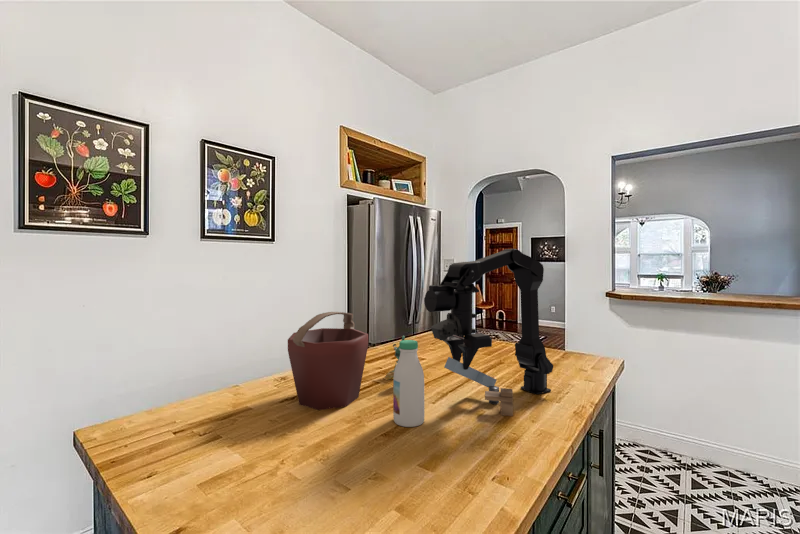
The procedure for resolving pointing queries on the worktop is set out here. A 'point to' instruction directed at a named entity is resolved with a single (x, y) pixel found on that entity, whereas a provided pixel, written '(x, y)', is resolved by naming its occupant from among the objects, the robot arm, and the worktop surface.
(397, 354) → the frog figurine
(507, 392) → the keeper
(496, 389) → the pintle
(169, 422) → the worktop surface
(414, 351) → the milk bottle
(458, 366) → the link
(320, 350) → the bucket
